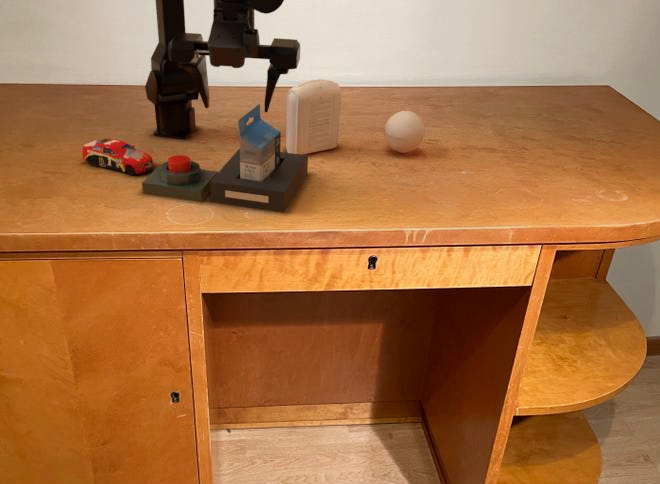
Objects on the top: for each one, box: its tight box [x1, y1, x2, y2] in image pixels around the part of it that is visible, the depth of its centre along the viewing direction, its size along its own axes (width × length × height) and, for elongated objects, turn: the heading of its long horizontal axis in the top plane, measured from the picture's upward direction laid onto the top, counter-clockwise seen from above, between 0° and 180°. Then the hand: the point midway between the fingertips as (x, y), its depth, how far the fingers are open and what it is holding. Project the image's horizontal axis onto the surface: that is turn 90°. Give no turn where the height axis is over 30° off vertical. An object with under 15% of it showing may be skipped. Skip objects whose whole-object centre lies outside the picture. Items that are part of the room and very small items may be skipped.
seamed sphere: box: [374, 110, 425, 154], centre depth 129 cm, size 10×7×7 cm
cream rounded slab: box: [285, 78, 342, 155], centre depth 127 cm, size 10×4×12 cm, turn 123°
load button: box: [167, 154, 192, 173], centre depth 113 cm, size 4×4×2 cm
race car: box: [81, 138, 154, 177], centre depth 121 cm, size 13×5×4 cm, turn 63°
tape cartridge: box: [237, 103, 282, 183], centre depth 113 cm, size 9×4×12 cm, turn 161°
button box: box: [141, 160, 219, 203], centre depth 115 cm, size 10×8×4 cm
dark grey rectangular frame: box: [210, 147, 309, 213], centre depth 115 cm, size 12×15×4 cm
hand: (236, 109), depth 109 cm, fingers open, 9 cm apart
